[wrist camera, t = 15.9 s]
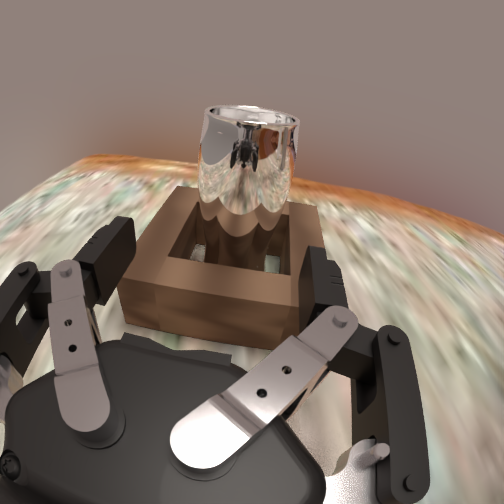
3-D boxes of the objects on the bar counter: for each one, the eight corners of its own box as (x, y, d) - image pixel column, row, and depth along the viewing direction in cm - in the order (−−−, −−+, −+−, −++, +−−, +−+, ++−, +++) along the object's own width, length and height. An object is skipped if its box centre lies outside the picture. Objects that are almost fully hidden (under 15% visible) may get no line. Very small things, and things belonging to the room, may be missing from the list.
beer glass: (189, 302, 24) (193, 117, 16) (200, 252, 30) (208, 101, 21) (271, 309, 25) (312, 131, 16) (267, 259, 31) (295, 112, 22)
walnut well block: (306, 244, 34) (316, 206, 31) (314, 354, 22) (335, 311, 19) (177, 225, 34) (177, 185, 31) (125, 322, 22) (114, 275, 19)
